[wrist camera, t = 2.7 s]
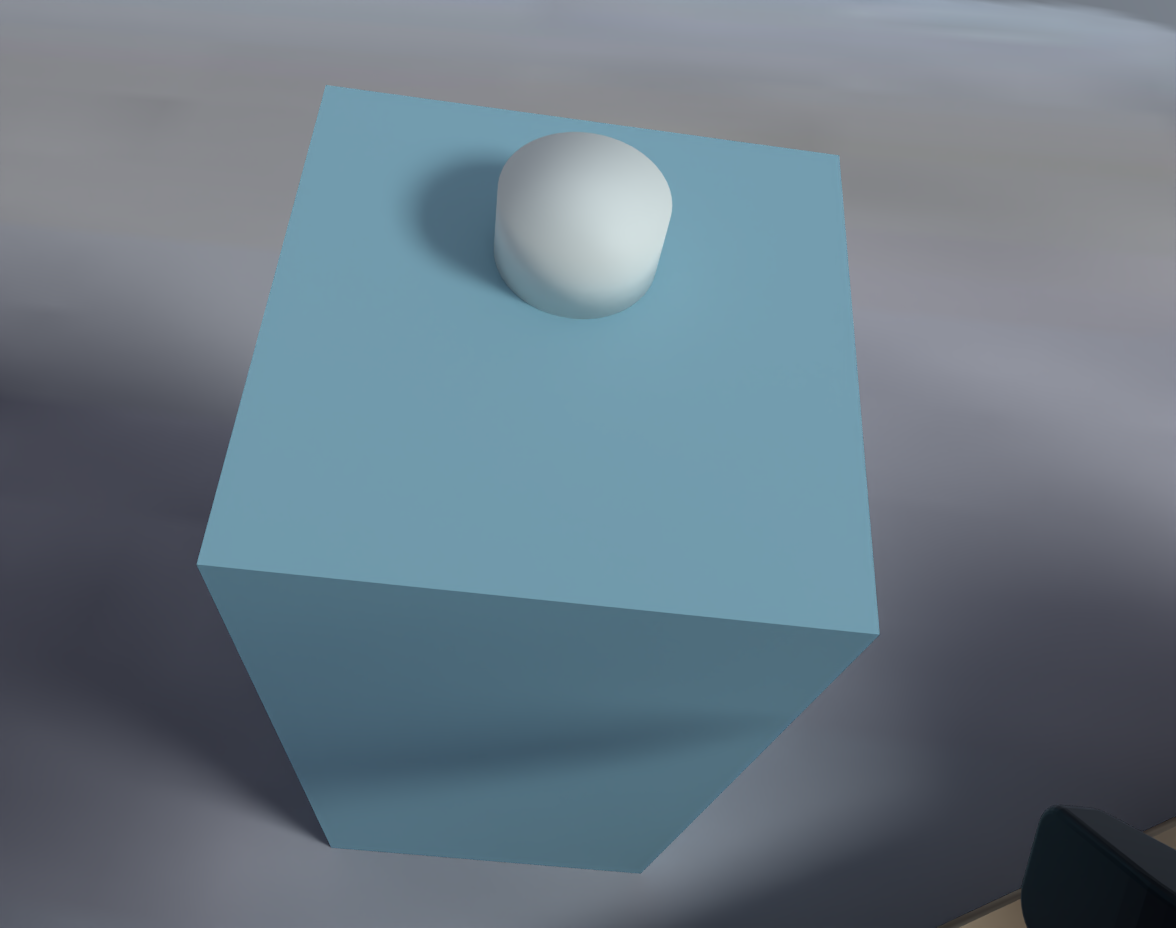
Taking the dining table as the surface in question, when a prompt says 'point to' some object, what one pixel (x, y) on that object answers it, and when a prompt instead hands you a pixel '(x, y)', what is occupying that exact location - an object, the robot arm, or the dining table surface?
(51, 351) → the dining table surface
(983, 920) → the light wood flat frame
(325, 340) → the milk carton
